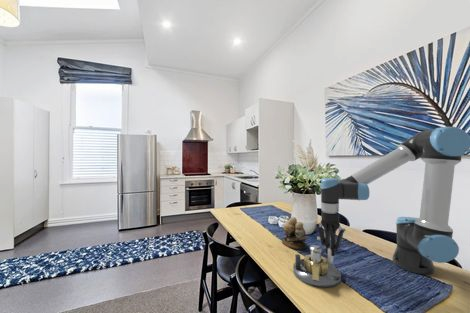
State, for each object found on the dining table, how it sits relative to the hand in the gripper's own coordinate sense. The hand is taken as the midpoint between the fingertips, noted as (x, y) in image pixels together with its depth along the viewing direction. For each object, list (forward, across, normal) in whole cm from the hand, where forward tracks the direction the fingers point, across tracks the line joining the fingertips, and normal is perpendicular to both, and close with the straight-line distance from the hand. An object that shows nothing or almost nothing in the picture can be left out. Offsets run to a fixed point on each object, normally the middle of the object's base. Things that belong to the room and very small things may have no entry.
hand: (330, 261), depth 96 cm
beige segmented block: (+2, +3, +8) cm, 9 cm away
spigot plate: (+4, +3, +8) cm, 9 cm away
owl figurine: (+4, +26, -12) cm, 30 cm away
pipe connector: (+4, +12, -22) cm, 25 cm away
